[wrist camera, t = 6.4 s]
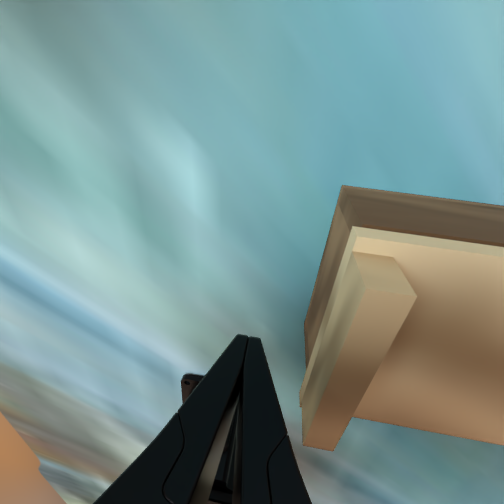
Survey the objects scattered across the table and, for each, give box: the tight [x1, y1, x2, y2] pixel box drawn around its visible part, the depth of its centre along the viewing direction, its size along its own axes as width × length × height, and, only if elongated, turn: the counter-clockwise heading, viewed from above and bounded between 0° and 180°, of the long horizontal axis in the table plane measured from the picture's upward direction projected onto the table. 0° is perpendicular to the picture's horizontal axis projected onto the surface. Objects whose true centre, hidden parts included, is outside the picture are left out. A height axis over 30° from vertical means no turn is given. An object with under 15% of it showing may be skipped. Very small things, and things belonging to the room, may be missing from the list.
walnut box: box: [304, 185, 504, 370], centre depth 12 cm, size 9×11×4 cm
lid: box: [299, 226, 504, 451], centre depth 9 cm, size 9×11×2 cm
